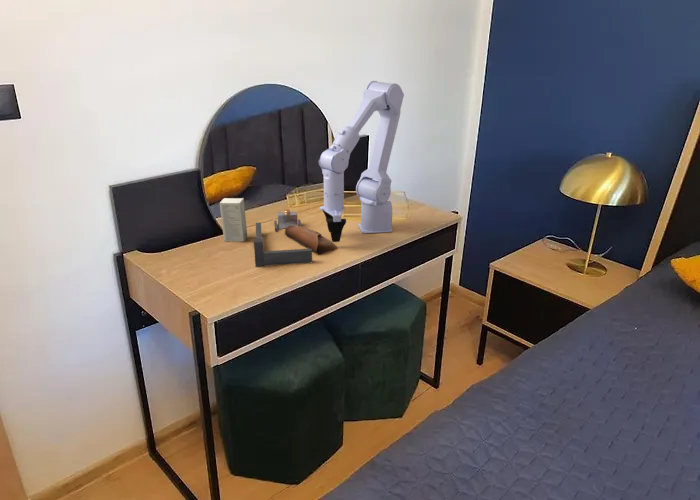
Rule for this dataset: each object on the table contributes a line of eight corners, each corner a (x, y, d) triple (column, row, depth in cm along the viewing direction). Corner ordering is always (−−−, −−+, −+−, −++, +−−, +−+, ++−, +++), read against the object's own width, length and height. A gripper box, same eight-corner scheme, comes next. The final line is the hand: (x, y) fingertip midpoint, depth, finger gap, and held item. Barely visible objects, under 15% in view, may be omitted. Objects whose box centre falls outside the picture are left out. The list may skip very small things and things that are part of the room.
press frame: (303, 222, 182) (302, 202, 179) (312, 263, 154) (311, 239, 151) (254, 225, 180) (253, 204, 177) (255, 266, 151) (253, 242, 149)
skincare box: (247, 236, 171) (244, 198, 166) (243, 242, 167) (240, 203, 162) (227, 235, 172) (223, 197, 167) (222, 241, 168) (219, 202, 163)
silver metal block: (297, 224, 180) (296, 208, 178) (297, 227, 177) (297, 211, 175) (278, 225, 179) (277, 209, 177) (278, 228, 177) (277, 212, 174)
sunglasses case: (341, 248, 163) (331, 232, 159) (324, 264, 161) (313, 249, 157) (308, 229, 176) (297, 214, 172) (291, 245, 174) (281, 230, 170)
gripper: (317, 185, 167) (317, 228, 173) (322, 200, 154) (323, 246, 160) (340, 184, 169) (340, 227, 174) (348, 199, 155) (348, 245, 161)
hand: (334, 236), depth 167 cm, fingers open, 7 cm apart
